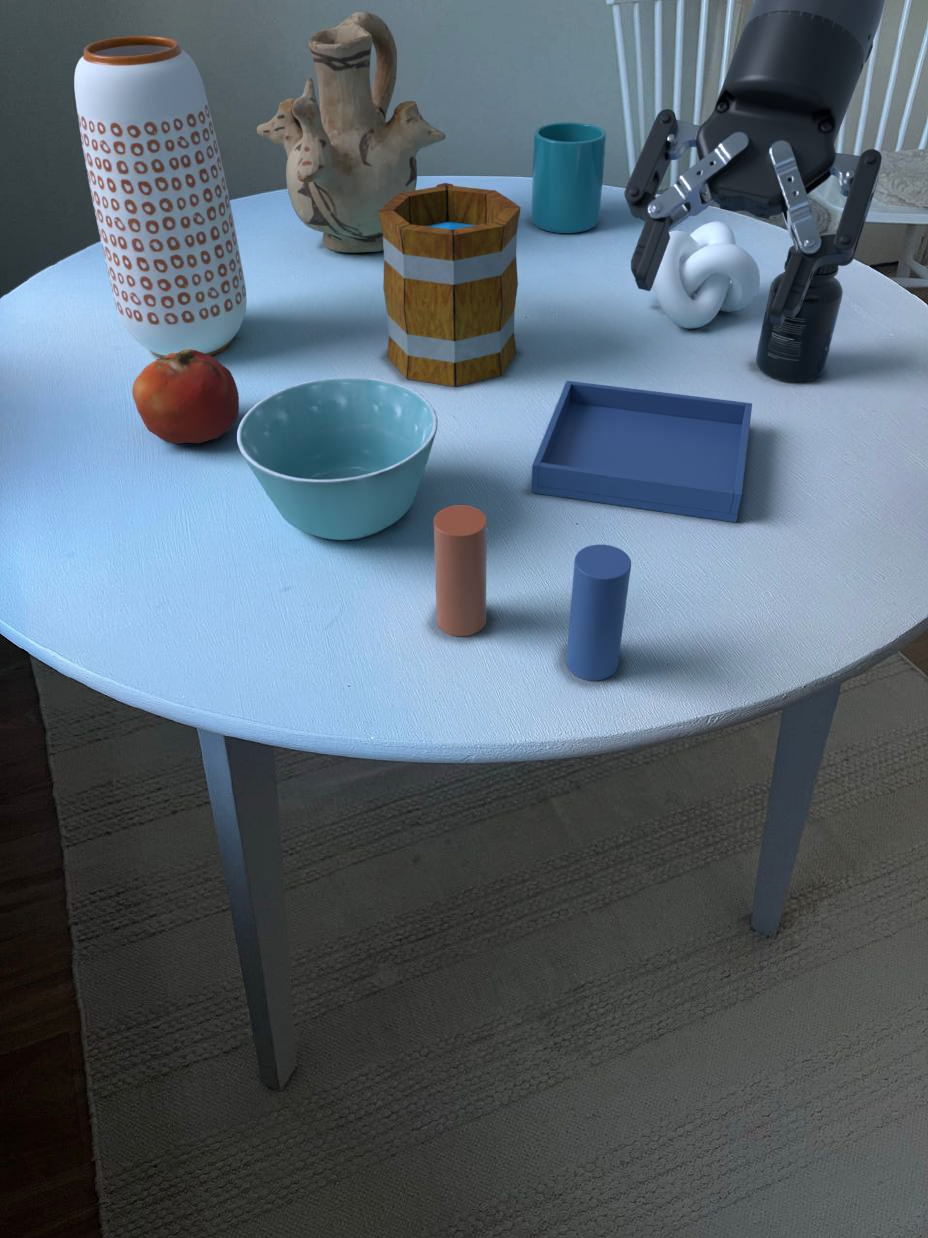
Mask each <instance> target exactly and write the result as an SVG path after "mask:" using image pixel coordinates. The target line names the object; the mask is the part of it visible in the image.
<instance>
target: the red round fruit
mask: <svg viewBox="0 0 928 1238" xmlns="http://www.w3.org/2000/svg"><path fill="white" fill-rule="evenodd" d="M237 386H238V385H237V383H236V381H235V378H234V376H233V374H232V372H231V370H229V368H227V367H226V366H225V365H223V364H222V363H221V362H220V361H219V360H217V359H216V358H214V357H213V356H209V355H207V354H205V353H202V352H199V351H196V350H191V349H190V350H182V351H181V352H179V353H170V354H168V355H167V356H166V357H164V358H157V359H156V360H154V361H152V362H150V363H149V364H148V365H146V366H145V367H144V368H143V369H142V371H141V372H140V373H139V375H138V376H136V378H135V380H134V382H133V384H132V389H131V391H132V392H131V394H132V398H133V401H134V404H135V406H136V410H137V413H138V414H139V416H140V418H141V420H142V422H143V424H144V426H145V427H146V429H147V430H148V431H149V432H150V433H152V434H153V435H155V436H157V437H158V439H160V440H162V441H164V442H167V443H170V444H176V445H177V444H202V443H204V442H207V441H212V440H216V439H218V438H219V437H221V436H222V435H224V434H226V433H227V432H228V431H229V430H230V429H231V428H232V427H233V426H234V425H235V423H236V422H237V420H238V417H239V411H240V397H239V389H238V387H237Z"/></svg>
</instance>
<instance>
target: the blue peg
mask: <svg viewBox="0 0 928 1238" xmlns="http://www.w3.org/2000/svg"><path fill="white" fill-rule="evenodd" d="M573 563H574V564H573V573H572V574H573V575H572V587H571V598H570V610H569V620H568V621H569V623H568V633H567V634H568V635H567V645H566V658H565V663H566V666H567V669H568V670H569V671H570V672H571V674H573V675H574V676H576V677H578V678H580V679H583V680H585V681H593V682H595V681H602V680H606V679H608V678H609V677H610V678H611V676H613V675H614V674H615V673H616V672H617V670H618V667H619V659H620V652H621V644H622V638H623V630H624V621H625V614H626V607H627V601H628V600H627V599H628V593H629V592H628V591H629V586H630V585H629V584H630V577H631V568H632V560H631V558H630V556H629V555H628V554H627V553H626V551H624V550H622V549H621V548H619V547H616V546H615V545H614V546H613V545H609V544H591V545H587V546H585V547H583V548H581V549H580V550H579V551H578V552H577V553H576V555H575V556H574V562H573Z"/></svg>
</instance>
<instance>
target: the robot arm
mask: <svg viewBox="0 0 928 1238" xmlns="http://www.w3.org/2000/svg"><path fill="white" fill-rule="evenodd" d="M885 3H886V0H753V2H752V5H751V8H750V11H749V13H748V15H747V18H746V21H745V24H744V26H743V30H742V32H741V34H740V38H739V40H738V42H737V46H736V48H735V51H734V54H733V56H732V60H731V61H730V64H729V67H728V70H727V73H726V76H725V78H724V80H723V84H722V86H721V89H720V92H719V93H718V97H717V99H716V102H715V106H714V108H713V111H712V113H711V114H710V115H709V117H708V118H707V119H706V120H705V121H704V122H703V123H702V124H701V125H699V124H694V123H691V122H688V121H683V120H678V119H677V116H676V113H675V112H674V111H673V109H671V108H665V109H662V110H660V111H659V112H658V114H657V115H656V117H655V120H654V122H653V124H652V125H651V126H652V127H651V128H650V131H649V133H648V135H647V138H646V140H645V142H644V145H643V147H642V149H641V151H640V154H639V157H638V159H637V161H636V164H635V166H634V168H633V171H632V173H631V175H630V177H629V180H628V182H627V184H626V187H625V190H624V198H625V201H626V203H627V206H628V208H629V211H630V214H631V216H632V217H633V218H635V219H639V220H641V221H643V227H642V229H641V232H640V235H639V238H638V241H637V243H636V246H635V248H634V250H633V251H634V252H633V253H632V256H631V260H630V270H631V273H632V275H633V277H634V282H635V283H636V284H635V285H636V286H637V289H639V290H642V291H645V292H650V291H651V290H652V288H653V283H654V281H655V278H656V275H657V272H658V270H659V267H660V264H661V262H662V259H663V256H664V254H665V251H666V248H667V245H668V243H669V240H670V235H669V232H671V231H672V230H674V229H675V227H677V226H679V225H680V224H681V223H682V222H684V221H686V219H688V218H690V217H691V216H692V217H695V216H697V215H698V214H700V213H701V212H703V211H704V210H706V209H707V208H708V207H710V206H711V205H712V204H714V203H716V204H717V205H719V209H720V210H725V211H729V212H747V213H749V214H750V215H753V216H755V217H756V218H761V219H765V220H770V218H771V217H773V216H778V215H782V217H783V220H784V223H785V225H786V229H787V231H788V234H789V237H790V239H791V240H792V243H793V245H794V246H795V249H796V254H795V253H792V254H791V256H790V259H789V262H788V264H787V267H786V270H785V269H784V271H783V272H784V275H783V278H782V280H781V283H780V285H779V288H778V291H777V293H776V296H775V299H774V301H773V304H772V307H771V310H770V314H769V317H770V323H773V324H777V325H781V326H782V324H783V322H784V319H785V317H789V318H794V317H795V315H796V314H797V313H798V312H799V310H800V308H801V305H802V302H803V300H804V297H805V295H806V292H807V289H808V287H809V284H810V282H811V279H812V276H813V274H814V272H815V270H816V269H817V268H818V267H820V266H822V265H826V264H834V263H836V264H837V265H839V266H838V267H844V266H848V265H850V264H851V263H852V262H853V261H854V258H855V255H856V254H857V253H856V252H857V250H858V247H859V243H860V240H861V237H862V233H863V231H864V227H865V225H866V221H867V218H868V214H869V211H870V208H871V205H872V202H873V198H874V195H875V193H876V189H877V186H878V183H879V180H880V173H881V168H882V167H881V165H882V154H881V152H880V151H879V150H877V149H875V148H870V149H867V150H864V151H863V152H862V154H860V155H857V154H849V153H842V152H841V153H840V152H836V147H835V145H836V140H837V138H838V135H839V132H840V129H841V127H842V124H843V122H844V119H845V116H846V114H847V111H848V109H849V106H850V103H851V100H852V98H853V95H854V93H855V91H856V87H857V85H858V82H859V79H860V78H861V77H860V76H861V74H862V72H863V69H864V66H865V64H866V63H867V62H868V60H869V57H870V55H871V53H872V50H873V47H874V40H875V38H876V35H877V31H878V30H879V26H880V23H881V20H882V16H883V12H884V7H885ZM691 148H696V153H697V156H698V160H699V161H698V162H697V163H695V164H694V165H693V166H691V167H690V168H688V169H687V170H686V171H684V172H683V173H681V174H680V176H679V177H678V178H677V179H676V182H675V183H674V184H672V186H671V187H669V188H667V190H665V191H664V192H663V193H660V195H659V196H657V197H656V195H657V194H658V191H659V189H660V186H661V185H662V182H663V180H664V177H665V175H666V173H667V172H668V171H667V170H668V168H669V166H670V163H671V162H672V161H677V160H679V159H680V158H682V156H683V154H684V153H685V151H687V150H689V149H691ZM831 176H833V177H836V178H837V180H838V182H839V183H838V191H839V193H840V194H841V196H843V197H846V200H845V204H844V206H843V210H842V212H841V217H840V220H839V223H838V226H837V229H836V232H835V233H834V234H833V233H832V234H825V235H824V234H823V235H820V233H819V230H818V226H817V223H816V221H815V218H814V214H813V211H812V207H811V201H810V199H809V196H808V195H809V194H810V193H812V192H813V191H814V190H815V189H817V188H819V187H820V186H821V185H822V184H824V183H825V182H826V181H828V179H830V177H831Z"/></svg>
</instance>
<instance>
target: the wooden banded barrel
mask: <svg viewBox="0 0 928 1238" xmlns="http://www.w3.org/2000/svg"><path fill="white" fill-rule="evenodd" d="M521 208H522V207H521V206H520V205H519V204H517V203H516V202H514V201H512V200H511V199H510V198H508V197H507V196H505V195H503V194H502V193H500V192H499V191H498V190H495V189H488V188H487V189H486V188H476V187H468V186H467V187H466V186H459V185H454V184H452V183H448V182H443V183H438V184H436V186H433V187H426V188H421V189H415V190H414V191H408V192H402V193H398V194H397V195H396V196H395V197H394V198H392V199H391V200H390V201H389V202H388V203H387V204H386V205H384V206H383V207H382V208H381V209H380V210H379V211H378V212H379V218H380V223H381V229H382V234H383V247H384V250H383V285H382V287H383V288H382V289H383V294H384V301H385V306H386V307H385V308H386V314H387V328H388V340H387V341H388V342H387V359H388V360H389V361H390V362H391V364H393V366H394V367H395V368H396V369H397V370H398V371H399V372H400V373H401V374H402V375H403V376H404V378H406V379H407V380H411V381H417V382H424V383H429V384H434V385H435V384H437V385H442V386H448V387H455V388H456V387H460V386H464V385H468V384H472V383H477V382H481V381H485V380H490V379H493V378H498V377H502V376H503V374H504V373H505V371H506V369H507V368H508V367H509V366H510V364H511V362H512V361H513V359H514V358H515V356H516V355H517V348H516V347H517V346H516V335H515V318H516V317H515V314H516V312H515V311H516V303H517V294H518V287H519V285H518V284H519V279H518V277H519V276H518V264H517V263H518V262H517V239H518V227H519V221H520V214H521Z"/></svg>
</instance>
